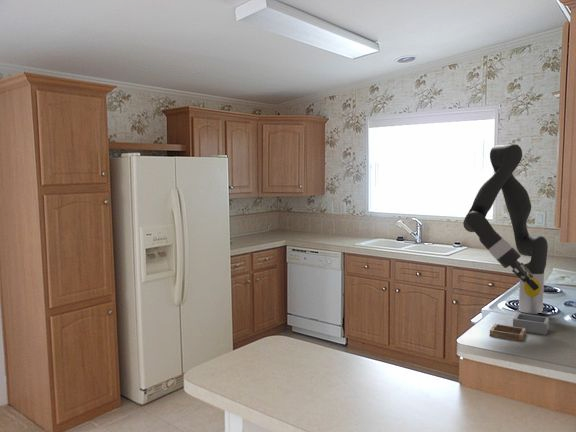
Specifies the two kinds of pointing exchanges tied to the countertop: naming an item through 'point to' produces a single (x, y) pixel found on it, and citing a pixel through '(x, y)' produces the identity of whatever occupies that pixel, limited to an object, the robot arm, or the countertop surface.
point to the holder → (531, 323)
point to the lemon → (530, 291)
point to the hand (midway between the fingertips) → (537, 287)
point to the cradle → (505, 334)
